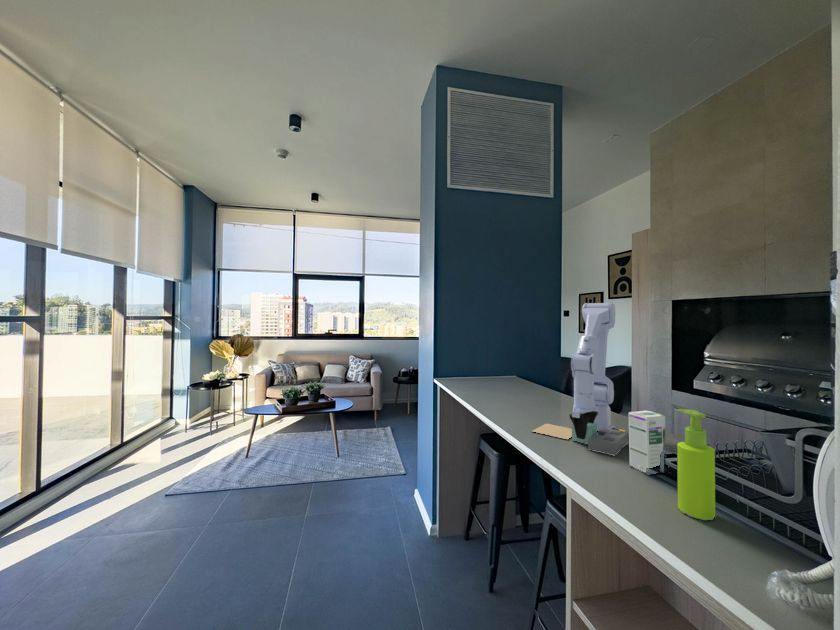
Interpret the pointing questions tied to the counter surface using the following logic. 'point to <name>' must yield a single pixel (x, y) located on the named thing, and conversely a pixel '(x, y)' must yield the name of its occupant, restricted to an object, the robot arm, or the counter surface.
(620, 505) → the counter surface
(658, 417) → the syrup box
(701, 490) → the soap dispenser
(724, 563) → the counter surface
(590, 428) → the charger
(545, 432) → the cork mat
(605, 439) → the power strip
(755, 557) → the counter surface
